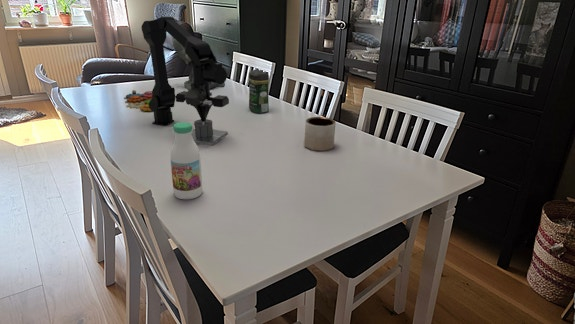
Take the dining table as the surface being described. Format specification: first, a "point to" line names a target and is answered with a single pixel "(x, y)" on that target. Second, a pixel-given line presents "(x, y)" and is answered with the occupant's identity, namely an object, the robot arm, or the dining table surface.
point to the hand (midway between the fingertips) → (203, 121)
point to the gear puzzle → (139, 100)
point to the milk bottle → (185, 163)
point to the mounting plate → (209, 140)
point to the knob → (203, 128)
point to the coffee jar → (258, 91)
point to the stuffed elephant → (184, 56)
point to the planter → (319, 133)
